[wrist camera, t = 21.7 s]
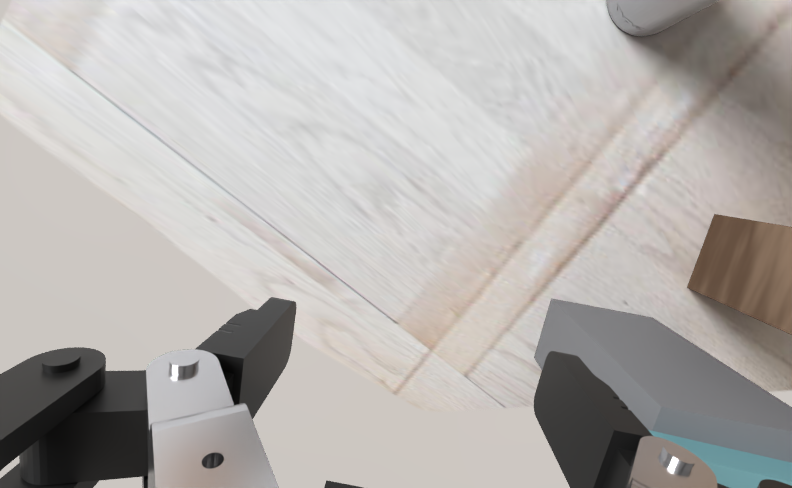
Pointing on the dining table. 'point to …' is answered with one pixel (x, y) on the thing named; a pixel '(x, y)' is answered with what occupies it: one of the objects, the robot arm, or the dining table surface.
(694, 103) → the dining table surface
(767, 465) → the block
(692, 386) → the block
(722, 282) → the stand
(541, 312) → the dining table surface
